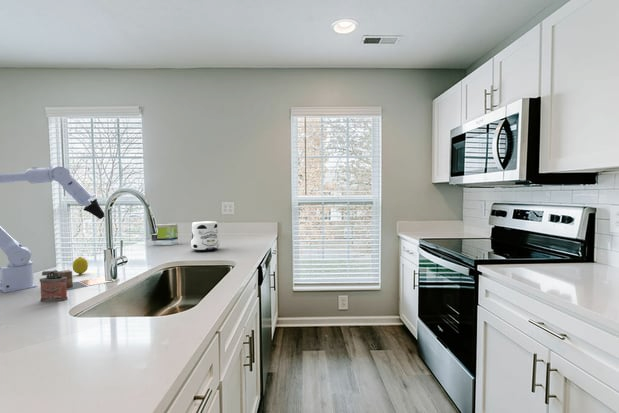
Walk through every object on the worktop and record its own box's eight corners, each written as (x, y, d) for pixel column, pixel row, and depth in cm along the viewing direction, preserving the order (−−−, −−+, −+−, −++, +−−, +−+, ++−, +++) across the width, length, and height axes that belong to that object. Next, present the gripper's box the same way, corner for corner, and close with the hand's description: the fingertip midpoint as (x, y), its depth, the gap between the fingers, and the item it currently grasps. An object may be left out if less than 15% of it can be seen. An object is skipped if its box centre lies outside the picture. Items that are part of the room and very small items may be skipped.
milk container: (211, 253, 196) (210, 223, 195) (185, 252, 199) (184, 223, 199) (224, 248, 213) (223, 221, 212) (200, 248, 216) (199, 221, 216)
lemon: (85, 272, 147) (85, 255, 147) (89, 274, 144) (89, 256, 144) (71, 275, 143) (70, 257, 143) (75, 276, 140) (74, 258, 139)
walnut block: (59, 289, 120) (59, 273, 120) (56, 287, 122) (55, 271, 122) (72, 286, 123) (72, 271, 123) (69, 285, 125) (68, 269, 125)
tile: (89, 286, 124) (89, 285, 124) (79, 281, 131) (79, 281, 131) (115, 281, 131) (115, 280, 131) (104, 277, 138) (104, 276, 138)
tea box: (178, 243, 240) (177, 223, 240) (171, 245, 230) (170, 224, 230) (159, 243, 241) (158, 223, 241) (151, 245, 231) (150, 225, 231)
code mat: (49, 294, 114) (49, 293, 114) (40, 288, 122) (40, 288, 122) (88, 286, 124) (88, 286, 124) (78, 281, 131) (78, 281, 131)
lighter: (70, 298, 109) (69, 269, 109) (62, 301, 106) (61, 271, 105) (45, 299, 109) (44, 269, 108) (37, 302, 105) (36, 272, 105)
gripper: (86, 186, 130) (111, 212, 135) (87, 185, 142) (110, 208, 147) (69, 197, 127) (95, 223, 133) (72, 195, 139) (96, 218, 145)
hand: (102, 216), depth 140 cm, fingers open, 7 cm apart
